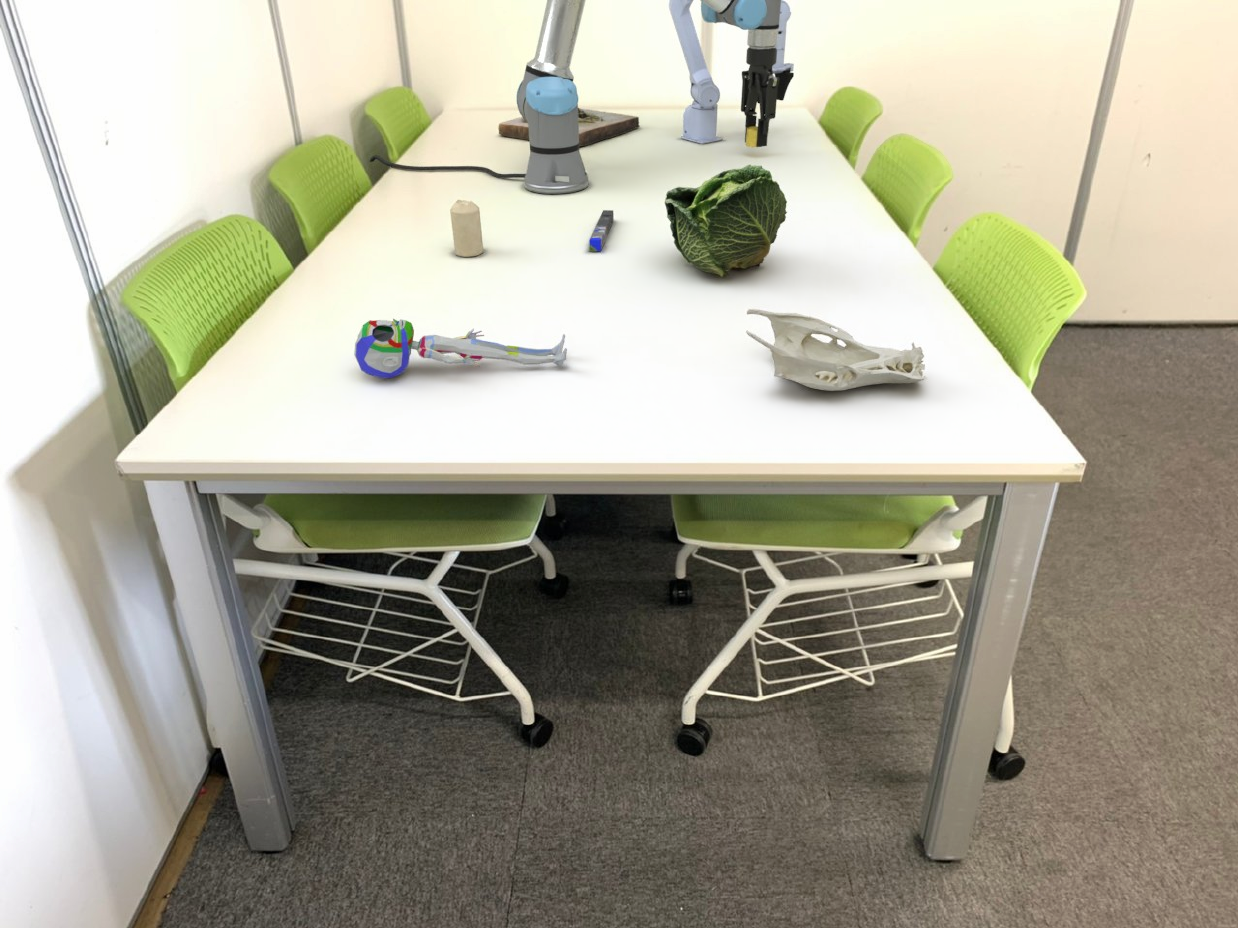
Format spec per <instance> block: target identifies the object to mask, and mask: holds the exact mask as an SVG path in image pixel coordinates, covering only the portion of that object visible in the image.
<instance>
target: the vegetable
mask: <svg viewBox="0 0 1238 928" xmlns="http://www.w3.org/2000/svg"><path fill="white" fill-rule="evenodd" d="M665 196H666V197H665V199H664V205H665V208H666V209H665V210H666V218H667V219H668V221H669V222H670V224H669V228H670V231H671V236H672V238H673V239H674V240H673V243H674V245H675V247H676V249H677V250H678V252H680V255H681V256H682V257H683V258H684V259H685V261H686V262H687V263H688V264H689V263H691V264H692V265H693V266H694V267H695V268H696V269H699V270H700V271H702V272H704V273H708V274H714V275H715V274H716V275H718V276H719V277H721V278H723V277H724V276H730V274H729V273H728V272H729V271H732V270H734V269H740V268H742V269H747V268H748V267H754V268H756V267H757V268H760V266H761V264H763V263H764V261H765V258H766V257H767V256H768V255H769V253H770V250H771V245H772V244H774V243H775V241H776V239H777V236H778V235H777V234H778V231H779V229H780V227H781V225H782V224H783V223H784V222H786V218H787V216H786V214H787V213H788V211H787V203H788V201H787V199H786V196H785V194H784V192H783V191H782V189H781V188H780V184H779V183H778V181H777V180H774V179H773V176H772V173H771V171H770V170H768V169H765V168H763V165H755V164H754V165H751V164H748V165H745V166H743V167H742V168H732V169H729V170H723V171H721V172H720V173H718V174H716V175H714V176H713V177H711V178H709V179H707V180H704V181H703V182H702V184H701V185H700V186H698V187H684V186H677V187H674V188H672V189H670V190H668V191H667V192H666V194H665Z"/></svg>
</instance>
